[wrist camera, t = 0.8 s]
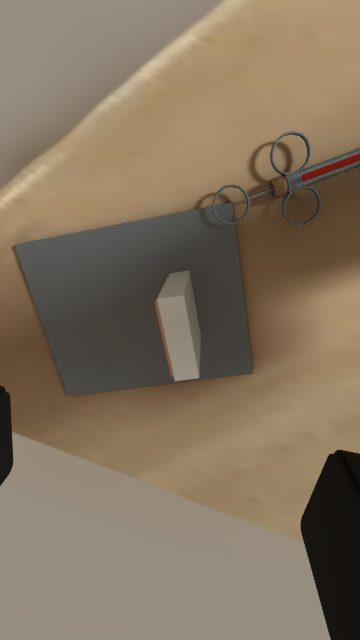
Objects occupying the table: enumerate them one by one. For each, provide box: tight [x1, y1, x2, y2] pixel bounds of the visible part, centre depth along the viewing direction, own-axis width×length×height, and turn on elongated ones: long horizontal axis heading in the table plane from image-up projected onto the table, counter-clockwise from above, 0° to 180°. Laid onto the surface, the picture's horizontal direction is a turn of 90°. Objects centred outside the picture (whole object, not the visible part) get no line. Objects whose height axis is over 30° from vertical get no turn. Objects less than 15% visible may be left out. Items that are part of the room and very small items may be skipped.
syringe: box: [212, 131, 360, 225], centre depth 27 cm, size 8×18×2 cm, turn 110°
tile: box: [155, 270, 201, 381], centre depth 28 cm, size 2×7×9 cm, turn 11°
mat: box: [14, 202, 253, 396], centre depth 34 cm, size 22×18×1 cm
